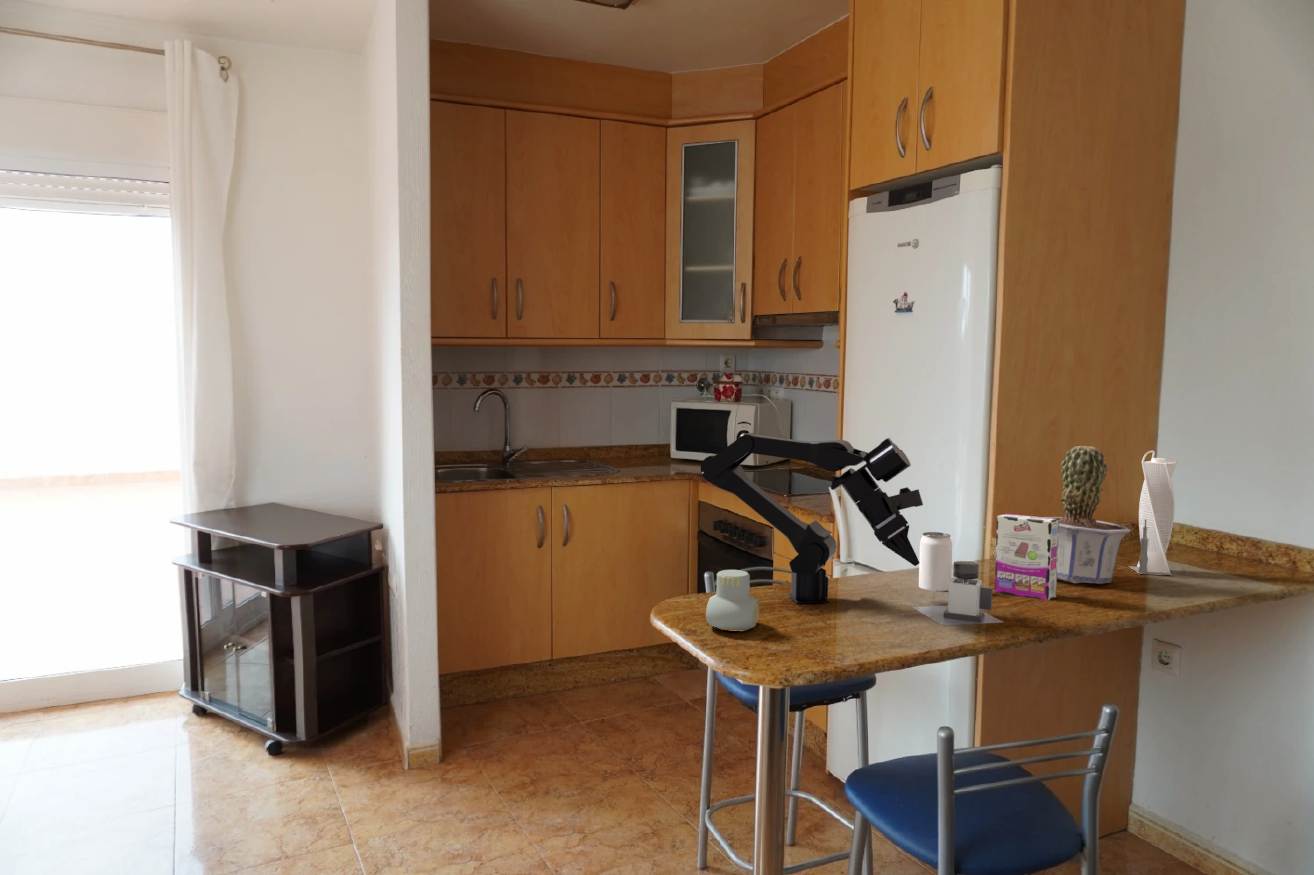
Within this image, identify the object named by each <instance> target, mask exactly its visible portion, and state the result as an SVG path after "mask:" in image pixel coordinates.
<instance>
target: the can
mask: <svg viewBox="0 0 1314 875" xmlns="http://www.w3.org/2000/svg"><path fill="white" fill-rule="evenodd" d="M918 560H919V562H920V563H919V564H918V565H919V566H918V587H919V588H920V589H923V590H926V591H927V590H928V591H932V592H946V591H948V588H949V581H950V580H951V578H952V570H953V569H952V565H953V562H952V561H953V542H952V539H951V534H949V533H946V532H936V531H927V532H923V533H922V537H921V539H920V540H919V559H918Z"/></svg>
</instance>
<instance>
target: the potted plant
mask: <svg viewBox="0 0 1314 875" xmlns="http://www.w3.org/2000/svg"><path fill="white" fill-rule="evenodd" d="M1060 467H1061V471H1060V472H1061V477H1062V481H1063V482H1062V488H1061V499H1060V502H1062V504H1063V513H1064V516H1063V517H1062V516H1043V518H1051V519H1059V526H1058V553H1057V580H1060V581H1065V582H1069V583H1072V584H1080V583H1088V584H1097V585H1104V584H1108V583H1110V584H1111V583H1112V580H1113V576H1114V571H1115V567H1116V563H1117V557H1118V553H1119V549H1120V546H1121V542H1122V540H1123V538H1124V537H1125V536H1126V535H1127V534H1129V533H1130V532H1131V531H1132V530H1131V529H1130V528H1128V527H1126V526H1124V525H1121V524H1118V523H1113V522H1107V521H1104V520H1096V519H1095V518H1093V515H1094V514H1095V512H1096V509H1097V506H1098V505H1099V503H1100V502H1101V492H1102V491H1104V490H1103V488H1102V485H1103V483H1104V481H1105V479H1106V476H1107V469H1108V466H1107V463H1106V461H1105V454H1103V453H1102V452H1101V450H1100V449H1099V448H1096V447H1095V446H1089V445H1088V446H1087V445H1078V446H1074V447H1071V449H1070V450H1067V451H1066V455H1065V457H1064V458H1063V459H1062V461H1061V462H1060Z"/></svg>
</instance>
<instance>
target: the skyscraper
mask: <svg viewBox="0 0 1314 875" xmlns="http://www.w3.org/2000/svg"><path fill="white" fill-rule="evenodd" d="M1149 453H1150V454H1151V453H1152V455H1151V459H1150V460H1147V461H1145V460H1146V457H1147V455H1148V454H1149ZM1155 453H1156V451H1155V450H1152V449H1151V450H1148V451H1147V452H1145V453H1144V456H1143V457H1142V459H1141V466H1142V472H1143V476H1144V480H1143V484H1142V488H1141V492H1140V497H1139V504H1138V527H1139V528H1138V529H1139V530H1138V531H1139V540H1140V553H1139V554H1140V555H1139V557H1138V559H1139V560H1138V563H1137V565H1136V566H1135V565H1134V566H1132V565H1131V566H1128V567H1130V568H1131V569H1133V570H1135V571H1136V572H1137V574H1138V573H1140V574H1162V575H1173V576H1174V574H1173V573H1171V571H1170V567H1169V563H1168V561H1167V560H1168V559H1167V556H1166V555H1167V551H1168V547H1169V544H1170V540H1171V538H1172V537H1171V536H1172V533H1173V527H1174V521H1175V494H1174V486H1173V482H1172V477H1173V475H1174V472H1175V470H1176V466H1177V463H1178V462H1177V460H1176V459H1174V458H1173V459H1169V460H1167V459H1166V458H1164V457H1155ZM1166 460H1167V461H1166ZM1131 569H1130V570H1131ZM1133 570H1132V571H1133ZM1136 572H1135V573H1136ZM1140 574H1139V575H1140Z"/></svg>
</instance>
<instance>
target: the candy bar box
mask: <svg viewBox="0 0 1314 875" xmlns="http://www.w3.org/2000/svg"><path fill="white" fill-rule="evenodd" d="M1043 517H1044V516H1043ZM1043 517H1041V516H1033V515H1031V516H1030V515H1022V514H1014V513H1012V514H1011V513H1003V514H999V515H997V516H996V534H995V536H996V538H995V565H994V566H995V568H994V570H995V571H994V574H995V575H994V593H998V594H1002V595H1007V596H1013V595H1014V596H1015V597H1020V598H1027V599H1036V600H1045V601H1051V600H1053V599H1055V598H1056V597H1057V582H1058V581H1057V580H1058V579H1057V553H1058V526H1059V519H1051V518H1043Z"/></svg>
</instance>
